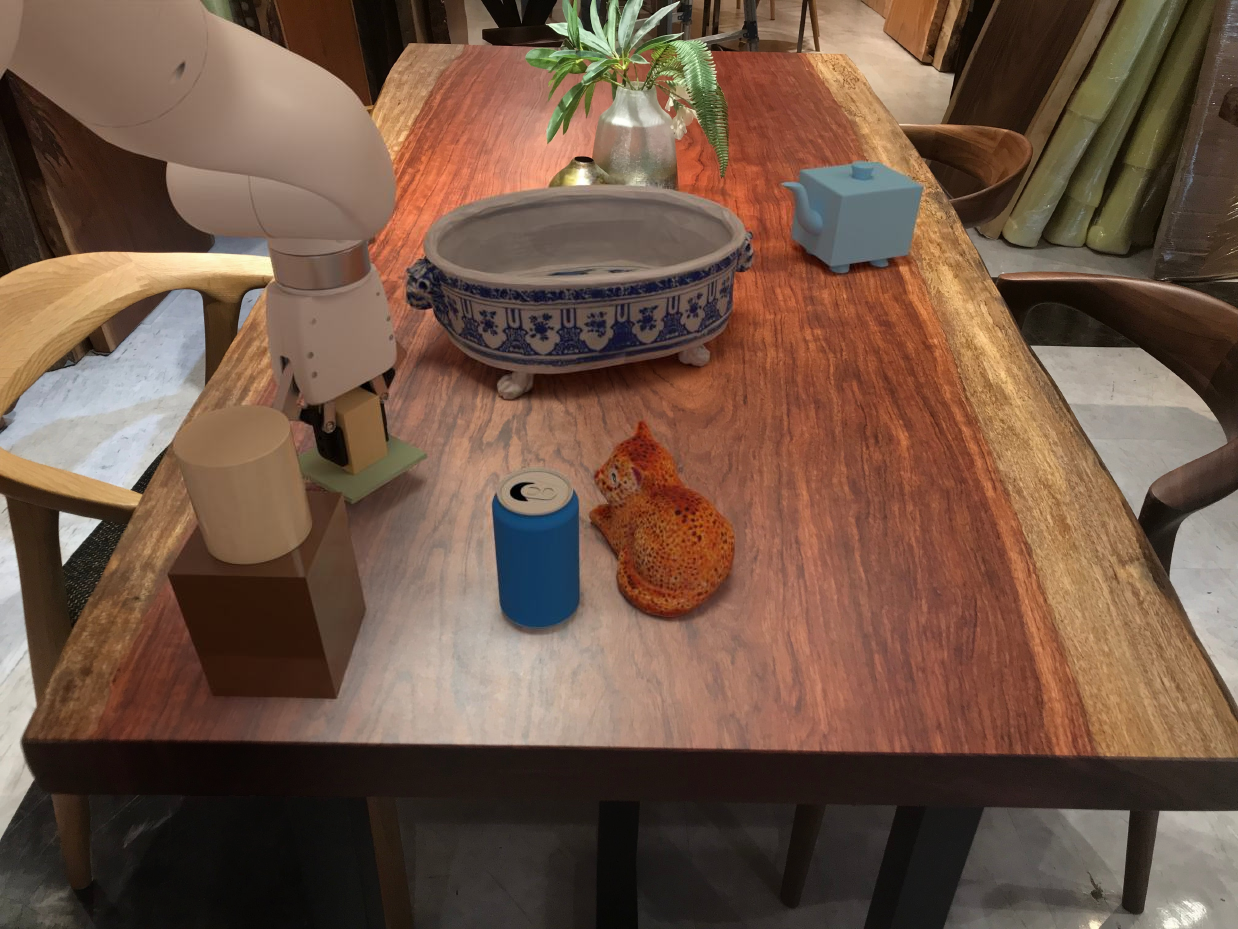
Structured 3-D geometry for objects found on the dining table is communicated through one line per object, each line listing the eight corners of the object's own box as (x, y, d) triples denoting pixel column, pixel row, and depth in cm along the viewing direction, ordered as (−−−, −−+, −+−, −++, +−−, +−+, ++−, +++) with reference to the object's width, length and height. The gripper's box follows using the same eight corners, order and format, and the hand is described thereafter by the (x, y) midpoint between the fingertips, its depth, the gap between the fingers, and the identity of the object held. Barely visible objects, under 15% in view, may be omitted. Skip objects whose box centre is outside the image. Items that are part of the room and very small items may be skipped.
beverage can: (510, 574, 76) (502, 459, 69) (585, 582, 75) (585, 467, 68) (491, 629, 70) (480, 512, 63) (571, 639, 70) (570, 521, 63)
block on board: (352, 504, 78) (339, 437, 74) (286, 467, 82) (271, 402, 78) (427, 457, 84) (419, 393, 80) (362, 425, 88) (352, 363, 84)
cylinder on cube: (336, 698, 65) (280, 478, 53) (212, 695, 65) (129, 474, 53) (366, 609, 72) (323, 398, 60) (255, 606, 72) (190, 394, 60)
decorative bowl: (701, 276, 125) (710, 169, 116) (795, 366, 105) (815, 245, 96) (396, 319, 113) (380, 203, 104) (436, 430, 93) (421, 298, 84)
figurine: (568, 522, 81) (567, 431, 75) (671, 491, 85) (677, 402, 79) (649, 635, 70) (654, 538, 64) (762, 593, 74) (777, 498, 69)
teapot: (878, 235, 139) (896, 145, 131) (921, 263, 131) (944, 169, 122) (752, 253, 132) (763, 159, 124) (789, 283, 124) (804, 185, 116)
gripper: (370, 220, 79) (395, 398, 89) (199, 282, 68) (251, 477, 78) (430, 240, 75) (449, 423, 86) (261, 309, 64) (307, 509, 75)
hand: (355, 447), depth 82 cm, fingers closed on block on board, 4 cm apart
